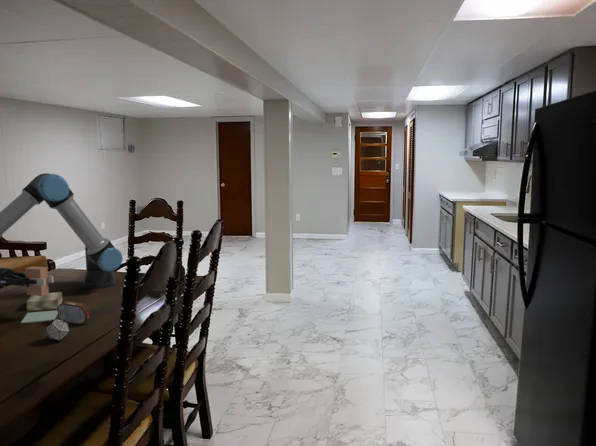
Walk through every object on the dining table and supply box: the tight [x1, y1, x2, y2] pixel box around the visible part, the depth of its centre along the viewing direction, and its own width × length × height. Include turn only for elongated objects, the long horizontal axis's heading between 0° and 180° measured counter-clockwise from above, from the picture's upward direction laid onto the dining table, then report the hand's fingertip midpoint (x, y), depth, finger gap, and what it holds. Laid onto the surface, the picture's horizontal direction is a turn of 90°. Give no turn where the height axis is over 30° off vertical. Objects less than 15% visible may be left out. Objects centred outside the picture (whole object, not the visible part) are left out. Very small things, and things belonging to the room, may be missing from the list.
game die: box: [43, 316, 73, 344], centre depth 172 cm, size 9×8×10 cm
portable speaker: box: [56, 300, 92, 326], centre depth 190 cm, size 15×3×8 cm, turn 71°
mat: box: [20, 309, 58, 324], centre depth 197 cm, size 12×12×1 cm
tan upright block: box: [24, 265, 50, 296], centre depth 194 cm, size 7×4×11 cm, turn 78°
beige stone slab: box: [26, 291, 63, 312], centre depth 211 cm, size 12×12×4 cm
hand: (48, 280), depth 193 cm, fingers closed on tan upright block, 4 cm apart
